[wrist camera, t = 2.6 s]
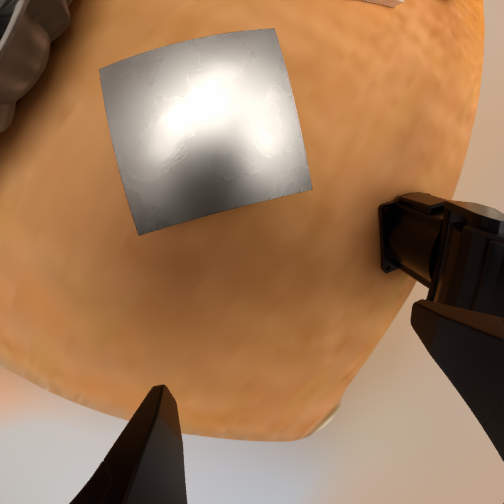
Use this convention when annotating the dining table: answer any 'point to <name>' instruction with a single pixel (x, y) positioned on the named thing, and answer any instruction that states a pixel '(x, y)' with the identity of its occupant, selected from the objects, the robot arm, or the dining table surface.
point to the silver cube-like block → (204, 127)
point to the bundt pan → (26, 46)
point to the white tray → (386, 2)
